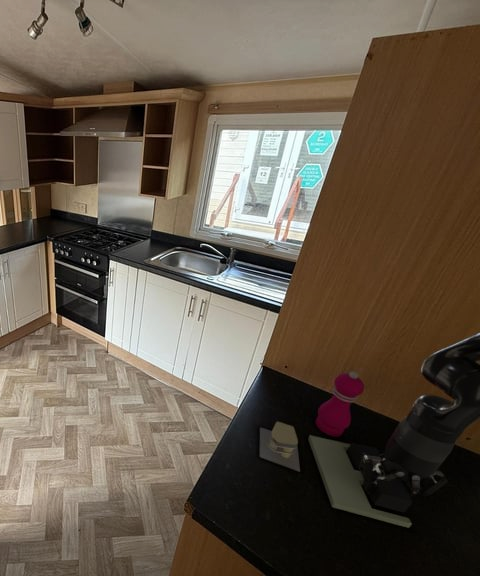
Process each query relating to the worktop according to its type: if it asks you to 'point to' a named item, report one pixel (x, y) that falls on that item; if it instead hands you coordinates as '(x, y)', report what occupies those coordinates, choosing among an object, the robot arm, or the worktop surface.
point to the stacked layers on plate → (280, 445)
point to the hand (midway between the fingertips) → (383, 494)
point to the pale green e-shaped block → (346, 481)
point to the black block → (391, 496)
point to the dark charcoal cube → (359, 454)
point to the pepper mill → (339, 404)
